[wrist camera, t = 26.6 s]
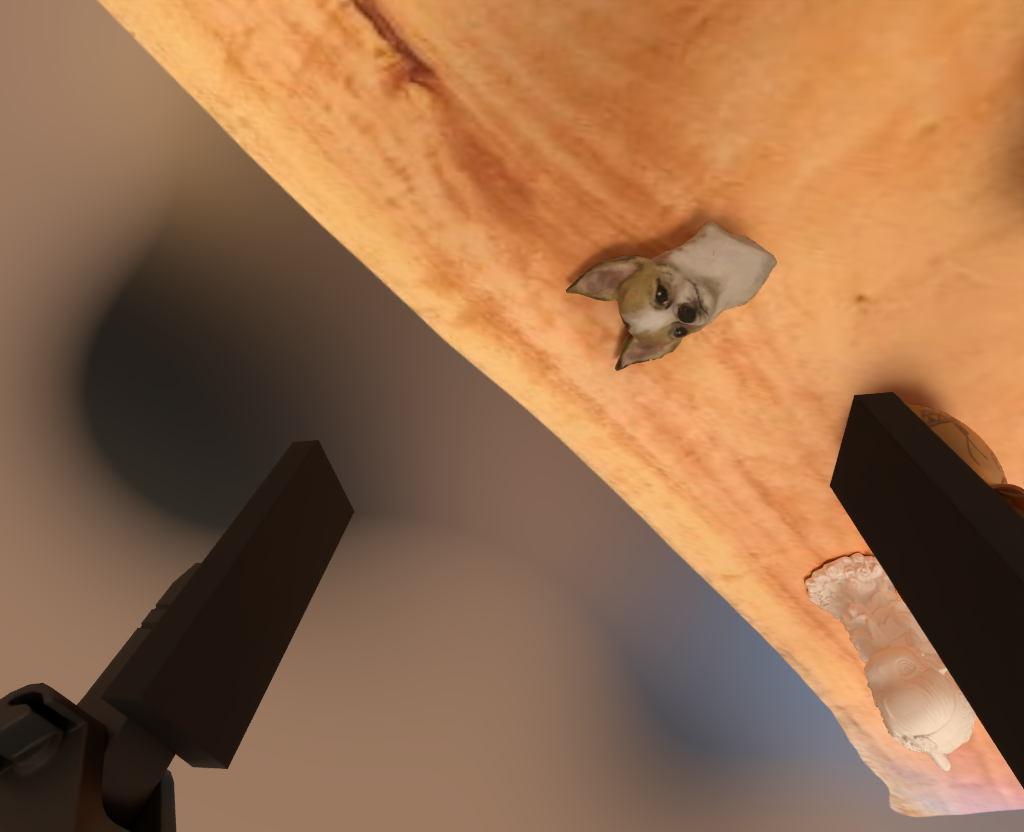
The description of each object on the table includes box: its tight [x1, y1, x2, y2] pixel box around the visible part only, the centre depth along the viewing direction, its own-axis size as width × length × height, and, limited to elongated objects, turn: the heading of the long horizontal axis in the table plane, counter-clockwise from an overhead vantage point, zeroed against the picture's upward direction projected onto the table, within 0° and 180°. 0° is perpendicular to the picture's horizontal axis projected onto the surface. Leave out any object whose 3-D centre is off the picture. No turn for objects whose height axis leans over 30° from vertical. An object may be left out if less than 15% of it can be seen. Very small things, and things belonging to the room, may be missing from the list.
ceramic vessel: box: [907, 405, 1024, 519], centre depth 40 cm, size 16×9×25 cm, turn 35°
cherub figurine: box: [805, 553, 975, 772], centre depth 55 cm, size 13×12×20 cm
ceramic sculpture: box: [566, 222, 777, 371], centre depth 40 cm, size 11×9×15 cm
